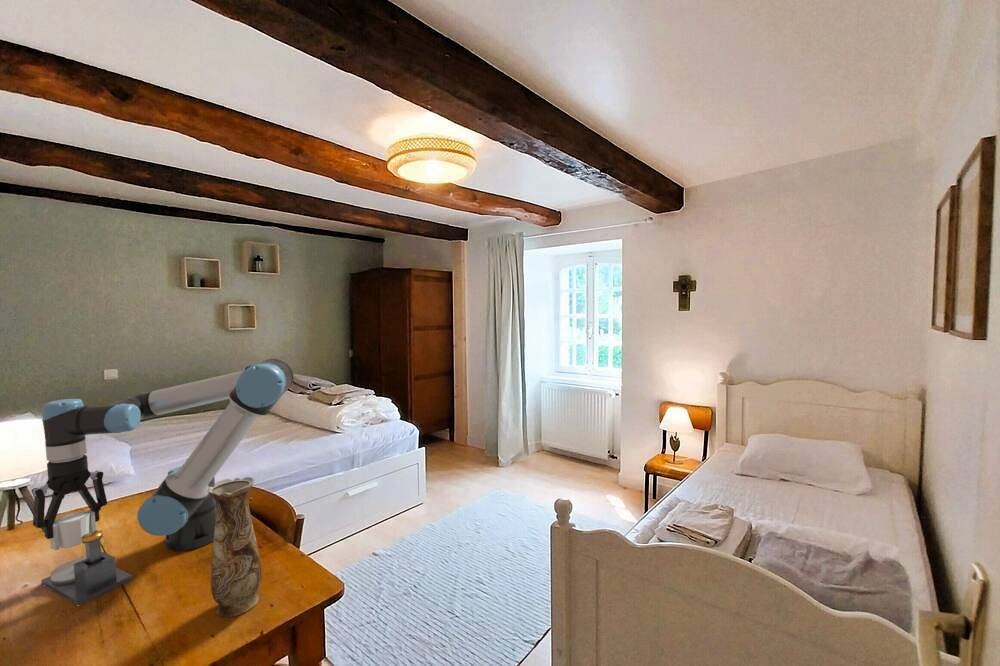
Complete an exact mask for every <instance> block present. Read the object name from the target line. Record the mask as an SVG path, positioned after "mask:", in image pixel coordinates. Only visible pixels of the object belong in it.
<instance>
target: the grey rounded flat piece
mask: <svg viewBox="0 0 1000 666" xmlns="http://www.w3.org/2000/svg"><path fill="white" fill-rule="evenodd" d="M85 559H86V556H83V557H79V558H78V557H77V558H76V559H72V560H70V561H68V562H65V563H63V564H61V565H60V566H57V567H56V568H55V569H54V570H52V571H51V573H50V576H51V583H52V584H54V585H64V584H69V583H73V582H75V575H74V564H75V563H78V562H80V561H82V560H85Z"/></svg>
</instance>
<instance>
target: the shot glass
mask: <svg viewBox="0 0 1000 666" xmlns="http://www.w3.org/2000/svg"><path fill="white" fill-rule="evenodd" d="M86 511H87V510H86ZM86 511H83V510H82V511H77V512H72V513H68V514H66V515H62V516H61V517H58V518H57V519H55V521H54V524H57V525H58V535H59V546H60V549H68V548H74V547H76V546H77V547H78V546H79V545H82V544H83V543H82V541H81V537H82V536H83V535H85V534H87V533H89V522H90V513H89V512H86Z"/></svg>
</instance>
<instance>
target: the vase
mask: <svg viewBox="0 0 1000 666" xmlns="http://www.w3.org/2000/svg"><path fill="white" fill-rule="evenodd" d="M254 482H255V479H254V477H250V476H246V477H244V478H241V477H235V479H233V480H231V478H228V479H227V478H226V479H221V480H219V481H216V482H215V484H214V487H209V489H208V491H207V492H208V493H209V494H210V495H211V496H212V497H213V498H214V499H215V502H216V519H215V532H214V541H213V545H212V554H211V557H212V558H211V566H210V567H211V568H210V588H211V589H210V590H211V595H212V598H213V600H214V602H215V603H217V604H218V607H217V609H216V614H217V616H219V617H221V618H232V617H236V616H239V615H242V614H245V613H246V612H248V611H249V610H251V609H253V608H255V606H256V605H257V603H258V602H259V600H260V595H259V594H258V593H257V592H258V590H259V588H260V586H261V581H262V562H261V556H260V551H259V547H258V543H257V539H256V534H255V533H256V532H255V530H254V526H253V521H252V515H251V510H250V506H249V492H250V491H251V490H252V487H253V485H254Z"/></svg>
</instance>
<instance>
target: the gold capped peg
mask: <svg viewBox="0 0 1000 666" xmlns="http://www.w3.org/2000/svg"><path fill="white" fill-rule="evenodd" d="M103 538H104V535H103V530H96V531H93V532H90V533H87V534H85V535H83V536H82V537H81V541H82V544H84V545H85V547H84V548H85V557H86V559H87V565H88V566H90V565H92V564H95V563H97V562H99V561H101V560H102V556H101V552H102V547H101V539H103Z"/></svg>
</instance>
